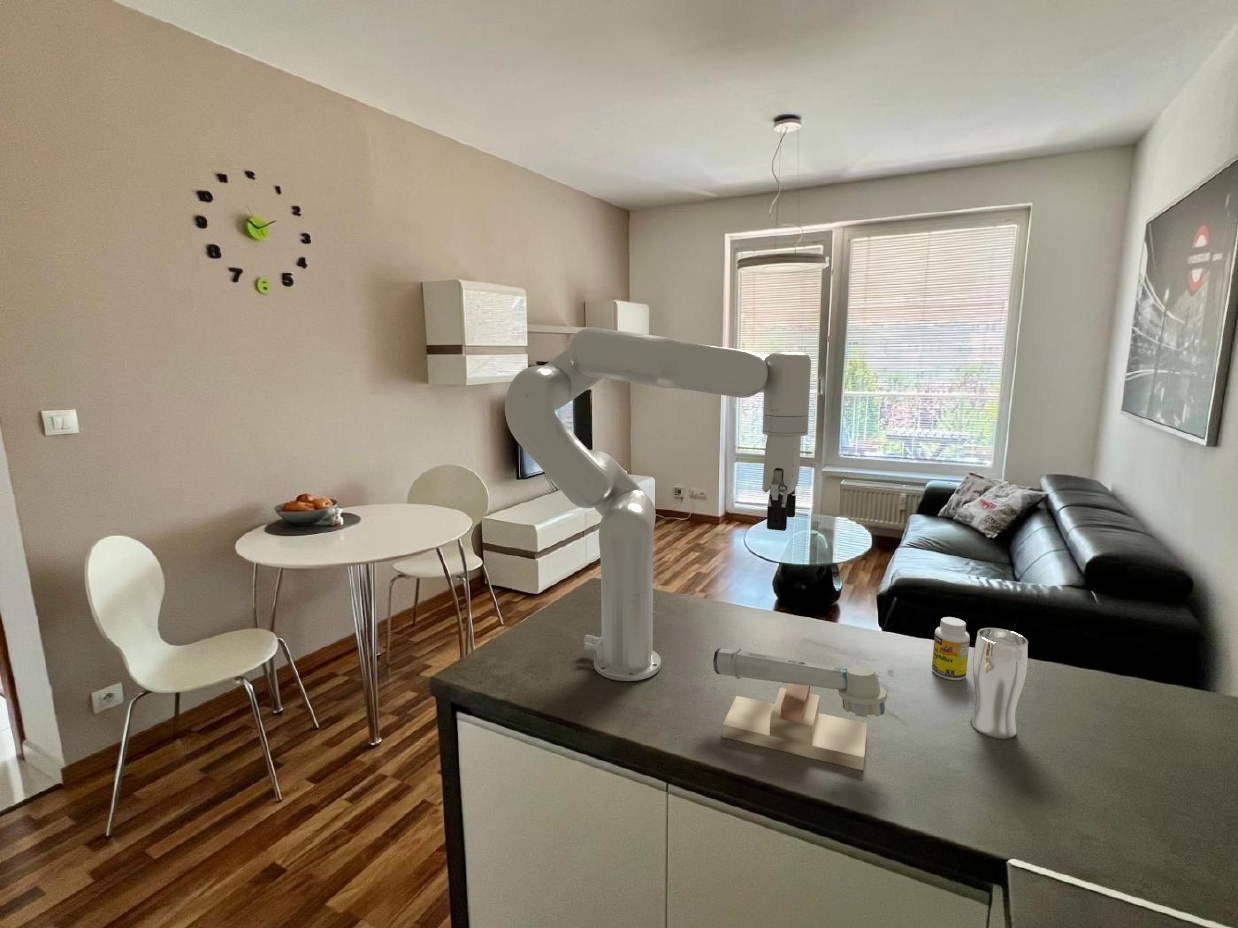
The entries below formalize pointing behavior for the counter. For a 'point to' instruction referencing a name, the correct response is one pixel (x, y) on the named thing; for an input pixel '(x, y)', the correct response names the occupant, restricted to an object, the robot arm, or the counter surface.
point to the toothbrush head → (808, 677)
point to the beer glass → (998, 680)
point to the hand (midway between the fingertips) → (781, 522)
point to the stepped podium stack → (797, 727)
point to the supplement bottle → (951, 649)
